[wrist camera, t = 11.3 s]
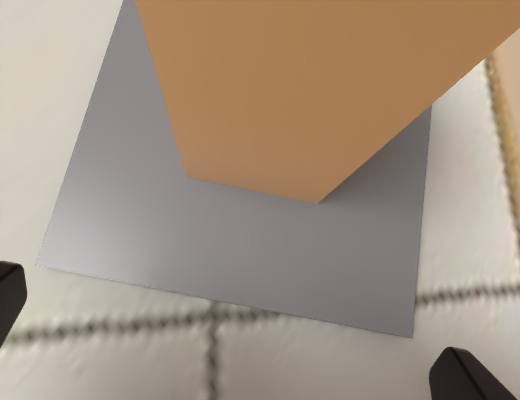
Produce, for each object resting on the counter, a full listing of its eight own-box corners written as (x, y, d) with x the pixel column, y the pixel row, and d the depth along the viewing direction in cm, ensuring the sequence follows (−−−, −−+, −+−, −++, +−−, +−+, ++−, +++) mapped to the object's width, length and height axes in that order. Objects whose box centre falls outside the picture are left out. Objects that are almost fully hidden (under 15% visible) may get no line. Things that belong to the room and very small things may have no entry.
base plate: (401, 335, 17) (412, 338, 16) (46, 266, 16) (35, 265, 15) (428, 37, 21) (438, 25, 20) (143, -32, 20) (139, -48, 19)
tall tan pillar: (317, 203, 17) (586, -30, 5) (186, 176, 17) (90, -157, 4) (334, 87, 19) (574, -331, 6) (214, 60, 18) (205, -444, 6)
